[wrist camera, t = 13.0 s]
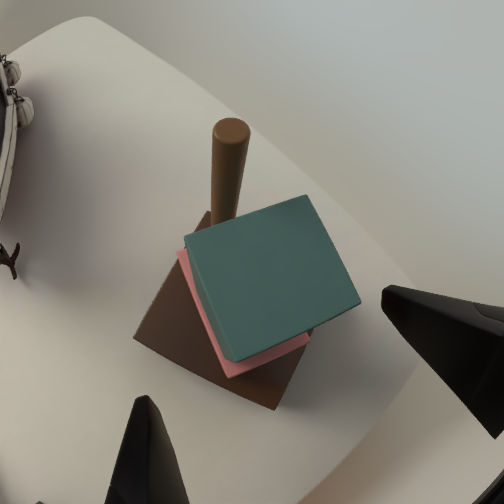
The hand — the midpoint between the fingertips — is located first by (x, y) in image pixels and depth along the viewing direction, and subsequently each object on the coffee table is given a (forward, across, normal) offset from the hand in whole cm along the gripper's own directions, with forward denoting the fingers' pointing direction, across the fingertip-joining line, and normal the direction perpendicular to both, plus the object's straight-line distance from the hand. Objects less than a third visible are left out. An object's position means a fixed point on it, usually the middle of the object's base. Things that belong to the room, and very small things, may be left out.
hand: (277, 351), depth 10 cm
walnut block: (+6, 0, +3) cm, 7 cm away
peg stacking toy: (+5, 0, +1) cm, 5 cm away
